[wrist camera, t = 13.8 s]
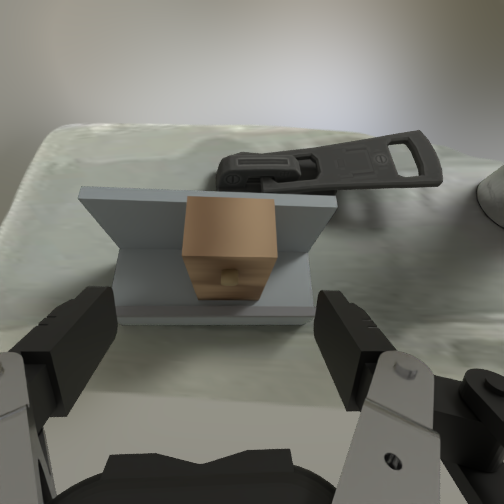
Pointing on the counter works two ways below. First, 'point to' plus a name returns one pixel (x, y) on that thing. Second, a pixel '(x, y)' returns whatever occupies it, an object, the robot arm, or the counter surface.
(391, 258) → the counter surface
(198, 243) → the cabinet
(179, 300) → the board
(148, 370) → the counter surface
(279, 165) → the zipper pull
